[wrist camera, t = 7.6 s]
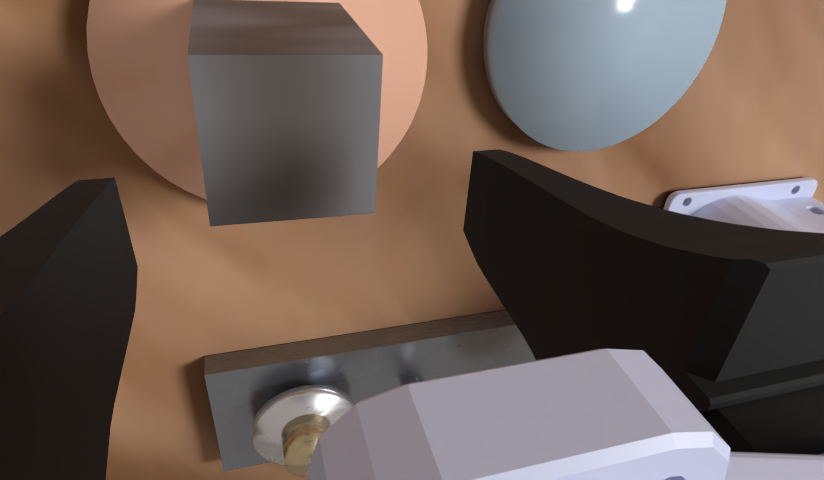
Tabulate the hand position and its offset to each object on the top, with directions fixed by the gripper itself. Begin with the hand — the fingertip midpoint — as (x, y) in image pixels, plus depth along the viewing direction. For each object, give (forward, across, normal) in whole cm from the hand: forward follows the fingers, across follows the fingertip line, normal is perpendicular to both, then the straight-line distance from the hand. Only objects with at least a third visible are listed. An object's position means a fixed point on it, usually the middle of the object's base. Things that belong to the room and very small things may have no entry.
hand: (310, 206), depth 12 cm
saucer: (+10, -13, -1) cm, 17 cm away
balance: (+10, -6, +17) cm, 21 cm away
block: (+9, 0, 0) cm, 9 cm away
